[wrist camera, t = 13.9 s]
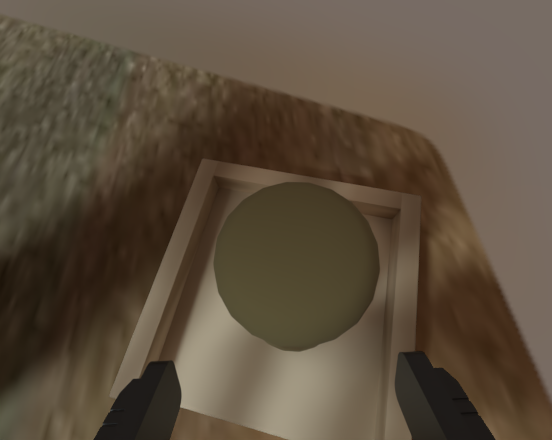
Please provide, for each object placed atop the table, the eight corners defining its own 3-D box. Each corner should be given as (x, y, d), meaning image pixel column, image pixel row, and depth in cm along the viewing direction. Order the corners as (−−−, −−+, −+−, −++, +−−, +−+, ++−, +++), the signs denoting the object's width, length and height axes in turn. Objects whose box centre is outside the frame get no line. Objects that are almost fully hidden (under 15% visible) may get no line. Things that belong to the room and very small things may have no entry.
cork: (226, 317, 17) (137, 285, 7) (275, 236, 19) (258, 123, 9) (314, 373, 16) (353, 430, 6) (357, 280, 18) (444, 203, 8)
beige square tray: (133, 388, 17) (108, 396, 15) (211, 176, 22) (202, 158, 20) (390, 465, 15) (409, 488, 13) (406, 212, 20) (421, 195, 18)
